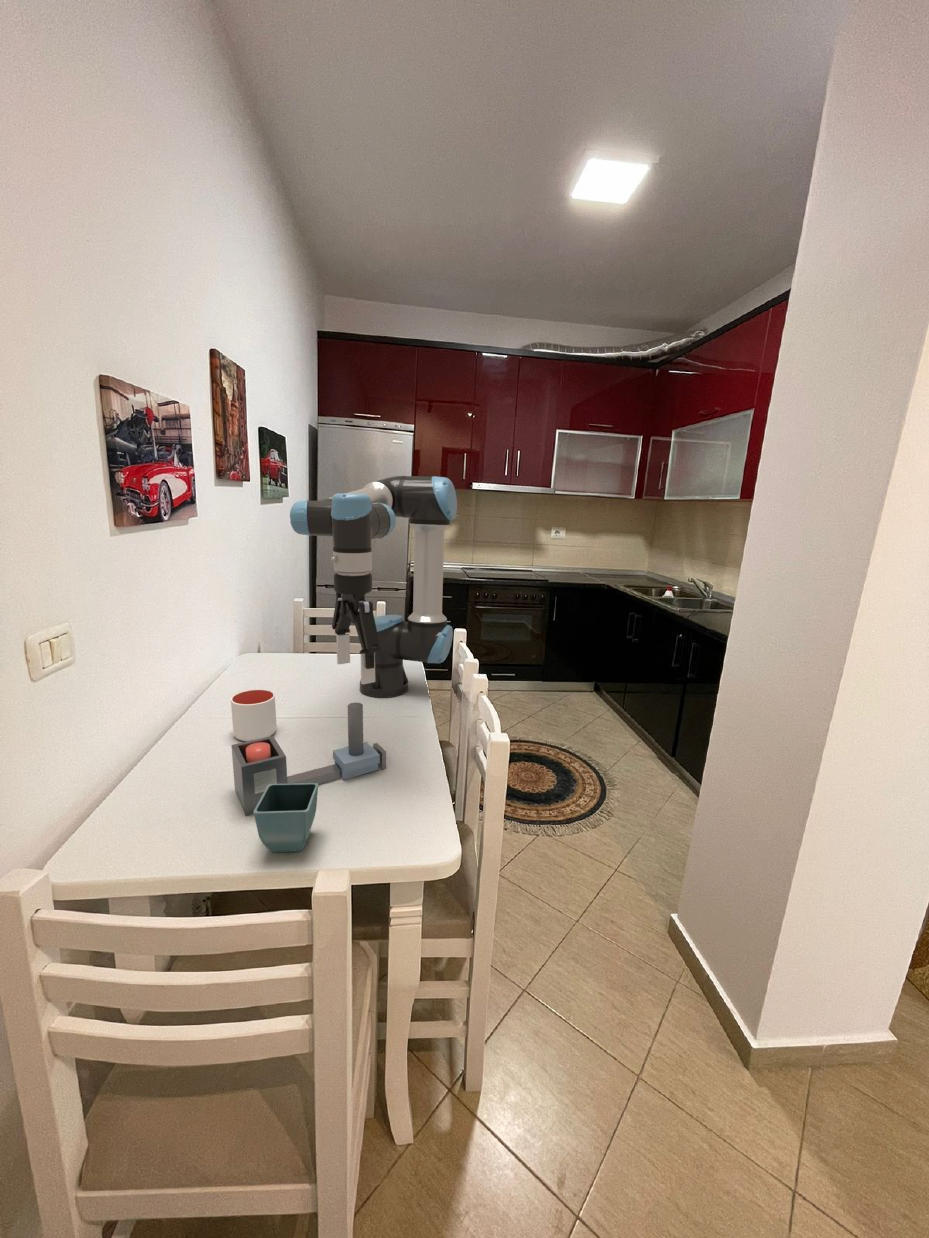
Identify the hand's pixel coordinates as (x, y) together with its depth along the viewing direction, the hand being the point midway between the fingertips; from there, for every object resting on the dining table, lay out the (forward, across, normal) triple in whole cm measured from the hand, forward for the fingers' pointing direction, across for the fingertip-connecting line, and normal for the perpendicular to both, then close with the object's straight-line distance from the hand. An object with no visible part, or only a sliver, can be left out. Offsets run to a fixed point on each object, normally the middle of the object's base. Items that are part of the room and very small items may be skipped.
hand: (355, 672), depth 108 cm
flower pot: (+22, +17, -20) cm, 34 cm away
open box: (+22, 0, -20) cm, 30 cm away
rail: (+22, 0, -6) cm, 23 cm away
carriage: (+23, 0, 0) cm, 23 cm away
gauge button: (+17, 0, -20) cm, 26 cm away
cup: (+23, -29, -16) cm, 40 cm away
